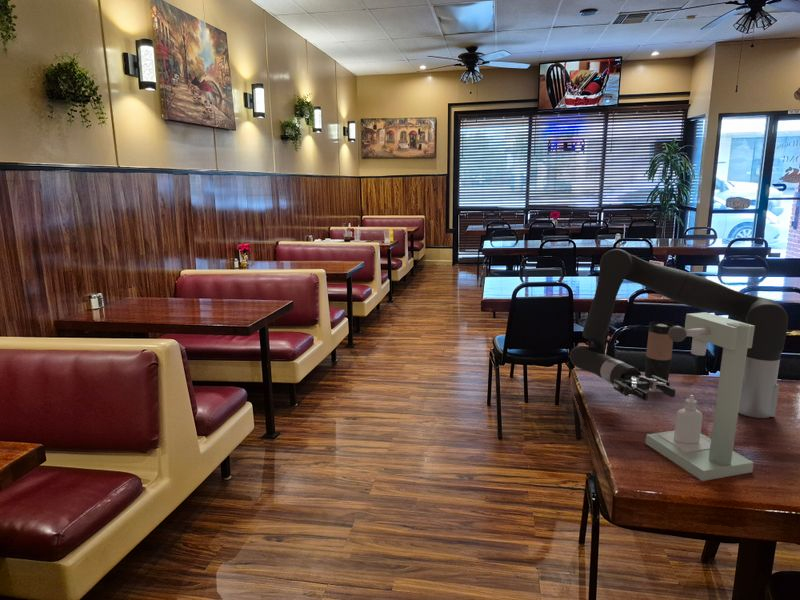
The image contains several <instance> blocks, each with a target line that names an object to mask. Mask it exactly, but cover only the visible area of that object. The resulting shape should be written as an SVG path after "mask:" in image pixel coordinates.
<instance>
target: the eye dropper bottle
mask: <svg viewBox="0 0 800 600" xmlns="http://www.w3.org/2000/svg"><path fill="white" fill-rule="evenodd" d="M694 397H695V396H694V395H693V394H690V395H689V397H688V398H686V399H685V403H684V407H683V408H680V409H678V410H677V411H676V416H675V425H674V430H675V431H674V430H673V431H674V439H675V440H677V441H678V442H680V443H689V444H691V443H698V442H699V441H700V434H701V433H702V432H701V431H702V426H703V413H702V412H701V411H700V410H698V409H697V405H698V401H697V400H696V399H695V398H694Z"/></svg>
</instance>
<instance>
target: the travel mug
mask: <svg viewBox="0 0 800 600" xmlns="http://www.w3.org/2000/svg"><path fill="white" fill-rule="evenodd" d="M673 326H675V325H674V324H673V323H671V322H667V321H665V322H662V323H659V322H657V321H651V322H649V326H648V335H647V336H648V337H647V343H646V353H645V367H644V376H645V377H647V378H652V376H657V377H659V378H662V379H664V380H666V381H669V378H670V369H671V365H672V356H673V347H674V346H673V344H674V341H672V340H671V339H670V338H669V336H668V331H669V329H670V328H671V327H673Z"/></svg>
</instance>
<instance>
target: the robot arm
mask: <svg viewBox="0 0 800 600" xmlns="http://www.w3.org/2000/svg"><path fill="white" fill-rule="evenodd" d="M624 280H625V281H628V282H632V283H636V284H638V285H641V286H643V287H646V288H648V289H649V290H651V291H654V292H655V293H657V294H659V295H661V296H663V297H665V298H666V299H667V298H668V299H670V300H672V301H675V302H677V303H680V304H683V305H685V306H688V307H692V308H697V309H699V310H700V309H701V310H707V311H712V312H718V313H722V314H725V315H727V316H730V317H732V318H735V319H737V320H738V321H739V320H742V321H744V322H746V323H747V324H750V325H754V326H755V329H754V336H753V342H752V348H747V355H746V362H745V369H744V376H743V383H742V390H741V397H740V404H739V411H738V414H741V415H743V416H745V417H746V416H747V417H751V418H756V419H767V418H770V417H771V418H775V416H776V409H777V406H778V404H777V403H778V398H779V392H780V385H779V384H778V383H777V382H778V375H779V368H780V362H781V357H782V353H783V351H784V348H785V342H786V336H787V332H788V326H789V316H788V313H787V311H786V309H784V308H783V306H782V305H781V304H780V303H778V301H775V300H773V299H770V298H765V297H762V296H756V295H753V294H748V293H744V292H741V291H737V290H735V289H732V288H729V287H728V286H726V285H722V284H721V283H718V282H715V281H714V280H713V281H712V280H710V279H708V278H706V277H704V276H700V275H698V274H694V273H691V272H688V271H685V270H681V269H678V268H674V267H669V266H665V265H660V264H657V263H656V264H655V263H652V262H650V261H647V260H644V259H643V258H640V257H638V256H635V255H633V254H631V253H629V252H628V251H626V250H623V249H621V248H613V249H610V250H607V251H606V252H605V253H604V254H602V256H601V258H600V261H599V275H598V281H597V286H596V291H595V294H594V296H593V300H592V302H591V305H590V308H589V311H588V313H587V316H586V317H587V318H586V320H585V323H584V327H583V329H582V337H583V338H584V339H585V340H587V341H590V346H587V345H576V346H574V347H573V348H572V349H571V350H570V353H569V360H570V362H571V363H572V365H573V366H574V367H576V368H578V369H580V370H583V371H585V372H588V373H591V374H594V375H595V376H597V377H599V378H601V379H602V380H604V381H606V382H607V383H609V385H612V386H613V389H614V390H615V391H616V392H618V393H620V394H621V395H623V396H626V397H629V396H630V395H631V396H632V397H637V398H638V399H640V400H642V401H644V402H645V401H649V393H648V392H650V393H655V392H658V393H659V392H660V393H662V394H664V395H666V396H668V397H670V398H675V397H676V389H675V388H672V387H671V386H670V385H671V381H669V380H668V381H666V380H664V379H662V378H659V377H657V376H652V378H647V377H645V375H643V374H641V372H640V370H639V369H638V368H636V367H634V366H632V365H631V364H628V363H626V362H624V361H622V360H620V359H616V358H614V357H612V356H610V355H607V354H606V336H607V333H608V330H609V327H610V325H611V319H612V316H613V312H614V307H615V303H616V299H617V296H618V293H619V290H620V289H621V287H622V284H623V282H624ZM651 385H652V388H651Z"/></svg>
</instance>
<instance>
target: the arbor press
mask: <svg viewBox="0 0 800 600" xmlns="http://www.w3.org/2000/svg"><path fill="white" fill-rule="evenodd" d="M754 329H755V326H754V325H750V324H746V323H743V322H739V320H736V319H731V318H727V317H724V316H720V315H716V314H713V313H709V312H693V313H686V315H685V321H684V327H683V326H681V325H674V326H673V327H671V328H670V329H669V331H668V336H669V338H670V339H671V340H672V341H673V342H675V343H679V342H683V341H685V340H686V337H692V338H691V339H692V342H691V350H690V354H691V355H695V356H701V357H702V356H703V357H704V356H706V352H707V343H709V344H712V345H714V346H718V347H721V348H722V352H721V353H722V354H721V362H720V369H719V375H718V376H719V377H718V384H717V394H716V400H715V406H714V414H713V415H714V416H713V422H712V423H713V424H712V429H711V437H709V436H707V435H705V434H703V433H702V432H701V434H700V441H699V442H698V443H691V444H689V443H680V442H678V441H677V440H675V439H674V431H675V429H674V430H667V431H663V432H653V433H647V434H646V436H645V445H647V446H649V447H650V448H652V449H653V450H655V451H656V452H658V453H659V454H661V455H662V456H664V457H665V458H666V459H668V460H670V461H672V463H674V464H675V465H677V466H679V467H680V468H682V469H683V470H685V471H686V472H688V473H690V474H691V475H692V476H693V477H695V478H697V479H699V480H700V481H701V482H705V481H710V480H715V479H722V478H726V477H733V476H740V475H744V474H749V473H751V474H752V473H753V469H754V461H752V460H751V459H748V458H746V457H745V456H743V455H741V454H739V453H737V452H736V451H734V446H735V444H734V443H735V439H736V431H737V430H736V429H737V425H738V424H737V423H738V417H739V413H738V411H739V404H740V397H741V390H742V383H743V376H744V369H745V362H746V355H747V348H752V342H753V336H754Z"/></svg>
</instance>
